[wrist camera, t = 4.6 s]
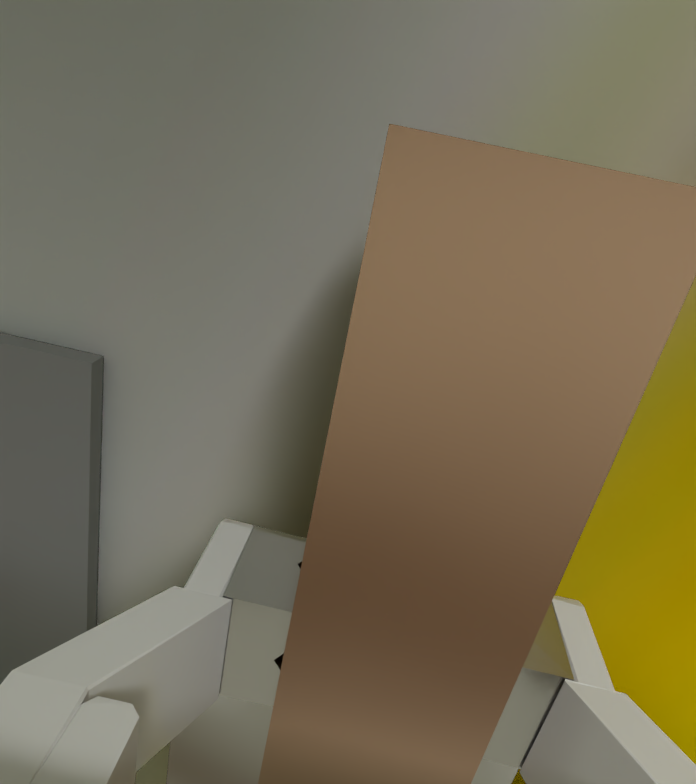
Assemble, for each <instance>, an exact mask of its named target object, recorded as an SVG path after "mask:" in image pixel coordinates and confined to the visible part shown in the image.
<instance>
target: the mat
mask: <svg viewBox="0 0 696 784" xmlns="http://www.w3.org/2000/svg"><path fill="white" fill-rule="evenodd" d="M102 391H103V356H101V355H96V354H92V353H88V352H83V351H79V350H74V349H70V348H66V347H61V346H57V345H52V344H48V343H44V342H39V341H35V340H30V339H26V338H22V337H17V336H13V335H9V334H4V333H0V685H1V683H2V682H3V681H4V680H5V678H6V677H7V676H8V675H9V673H10V672H11V671H12V670H14V669H16V668H17V667H19V666H21V665H23V664H25V663H27V662H29V661H31V660H33V659H35V658H37V657H38V656H40V655H42V654H44V653H46V652H48V651H50V650H52V649H54V648H56V647H58V646H60V645H61V644H63V643H65V642H67V641H69V640H71V639H73V638H75V637H77V636H79V635H81V634H83V633H84V632H86V631H88V630H90V629H92V628H94V627H96V611H97V575H98V538H99V501H100V464H101V428H102Z"/></svg>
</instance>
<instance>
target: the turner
mask: <svg viewBox="0 0 696 784" xmlns="http://www.w3.org/2000/svg"><path fill="white" fill-rule="evenodd" d="M695 276H696V187H693V186H688V185H683V184H678V183H673V182H669V181H664V180H659V179H654V178H649V177H644V176H640V175H635V174H630V173H625V172H620V171H615V170H611V169H606V168H601V167H596V166H591V165H586V164H582V163H577V162H572V161H567V160H562V159H557V158H553V157H548V156H543V155H538V154H533V153H528V152H524V151H519V150H514V149H509V148H504V147H500V146H495V145H490V144H485V143H480V142H475V141H471V140H466V139H461V138H456V137H451V136H446V135H442V134H437V133H432V132H427V131H422V130H417V129H413V128H408V127H403V126H398V125H393V124H389V128H388V133H387V138H386V143H385V148H384V153H383V158H382V163H381V168H380V173H379V178H378V183H377V188H376V193H375V198H374V203H373V208H372V213H371V218H370V223H369V228H368V233H367V238H366V243H365V248H364V253H363V258H362V263H361V268H360V273H359V278H358V284H357V289H356V294H355V299H354V304H353V309H352V314H351V319H350V324H349V329H348V334H347V339H346V344H345V349H344V354H343V359H342V364H341V369H340V374H339V379H338V384H337V389H336V394H335V399H334V404H333V409H332V414H331V419H330V424H329V429H328V434H327V439H326V444H325V449H324V454H323V459H322V464H321V469H320V474H319V479H318V484H317V489H316V495H315V500H314V505H313V510H312V515H311V520H310V525H309V530H308V535H307V540H306V545H305V550H304V555H303V560H302V565H301V570H300V575H299V580H298V585H297V590H296V595H295V600H294V605H293V610H292V615H291V620H290V625H289V630H288V635H287V640H286V645H285V650H284V655H283V660H282V665H281V670H280V675H279V680H278V685H277V690H276V695H275V701H274V706H273V707H272V706H267V705H263V704H258V703H253V702H249V701H244V700H239V699H235V698H230V697H225V696H221V695H219V696H218V700H216V701H215V702H214V703H213V704H212V705H211V706H210V707H209V708H207V709H206V710H205V711H204V712H203V713H202V714H201V715H200V716H198V717H197V718H196V719H195V720H194V721H193V722H192V723H191V724H190V725H188V726H187V727H186V728H185V729H184V730H183V731H182V732H181V733H179V734H178V735H177V736H176V737H175V738H174V739H173V740H172V741H170V749H169V760H168V770H167V781H166V784H511V783H512V781H513V779H514V777H515V775H516V773H517V771H518V768H514V767H511V766H507V765H503V764H500V763H496V762H493V761H489V760H485V759H482V758H483V755H484V753H485V751H486V749H487V746H488V744H489V742H490V739H491V737H492V735H493V733H494V730H495V728H496V726H497V724H498V721H499V719H500V717H501V715H502V712H503V710H504V708H505V706H506V703H507V701H508V699H509V697H510V694H511V692H512V690H513V687H514V685H515V683H516V681H517V678H518V676H519V674H520V672H521V669H522V667H523V665H524V663H525V660H526V658H527V656H528V654H529V651H530V649H531V647H532V645H533V642H534V640H535V638H536V635H537V633H538V631H539V629H540V626H541V624H542V622H543V620H544V617H545V615H546V613H547V611H548V608H549V606H550V604H551V602H552V599H553V597H554V595H555V593H556V590H557V588H558V586H559V583H560V581H561V579H562V577H563V574H564V572H565V570H566V568H567V565H568V563H569V561H570V559H571V556H572V554H573V552H574V550H575V547H576V545H577V543H578V541H579V538H580V536H581V534H582V531H583V529H584V527H585V525H586V522H587V520H588V518H589V516H590V513H591V511H592V509H593V507H594V504H595V502H596V500H597V498H598V495H599V493H600V491H601V489H602V486H603V484H604V482H605V479H606V477H607V475H608V473H609V470H610V468H611V466H612V464H613V461H614V459H615V457H616V455H617V452H618V450H619V448H620V446H621V443H622V441H623V439H624V437H625V434H626V432H627V430H628V427H629V425H630V423H631V421H632V418H633V416H634V414H635V412H636V409H637V407H638V405H639V403H640V400H641V398H642V396H643V394H644V391H645V389H646V387H647V385H648V382H649V380H650V378H651V375H652V373H653V371H654V369H655V366H656V364H657V362H658V360H659V357H660V355H661V353H662V351H663V348H664V346H665V344H666V342H667V339H668V337H669V335H670V333H671V330H672V328H673V326H674V323H675V321H676V319H677V317H678V314H679V312H680V310H681V308H682V305H683V303H684V301H685V299H686V296H687V294H688V292H689V290H690V287H691V285H692V283H693V281H694V278H695Z"/></svg>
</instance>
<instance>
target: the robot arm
mask: <svg viewBox="0 0 696 784" xmlns="http://www.w3.org/2000/svg"><path fill="white" fill-rule="evenodd" d="M306 540H307V538H303V537H299V536H295V535H291V534H287V533H284V532H280V531H276V530H272V529H268V528H264V527H260V526H254V525H251V524H247V523H243V522H239V521H235V520H231V519H227V518H225V519H223V520H222V521H221V522H220V523H219V524H218V526H217V528H216V530H215V532H214V534H213V535H212V537H211V539H210V541H209V543H208V544H207V546H206V548H205V550H204V552H203V553H202V555H201V557H200V559H199V561H198V562H197V564H196V566H195V568H194V570H193V572H192V573H191V575H190V577H189V579H188V581H187V582H186V584H185V586H184V588H182V587H177V586H172V587H171V588H169V589H167V590H165V591H163V592H161V593H159V594H157V595H155V596H153V597H151V598H150V599H148V600H146V601H144V602H142V603H140V604H138V605H136V606H134V607H132V608H130V609H128V610H127V611H125V612H123V613H121V614H119V615H117V616H115V617H113V618H111V619H109V620H107V621H105V622H104V623H102V624H100V625H98V626H96V627H94V628H92V629H90V630H88V631H86V632H84V633H83V634H81V635H79V636H77V637H75V638H73V639H71V640H69V641H67V642H65V643H63V644H61V645H60V646H58V647H56V648H54V649H52V650H50V651H48V652H46V653H44V654H42V655H40V656H38V657H37V658H35V659H33V660H31V661H29V662H27V663H25V664H23V665H21V666H19V667H17V668H16V669H14V670H12V671H11V672H10V673H9V675H8V676H7V677H6V678H5V680H4V681H3V682H2V683H1V685H0V784H135V778H136V772H137V771H138V770H139V769H140V768H141V767H142V766H144V765H145V764H146V763H147V762H148V761H149V760H150V759H151V758H153V757H154V756H155V755H156V754H157V753H158V752H159V751H160V750H162V749H163V748H164V747H165V746H166V745H167V744H168V743H169V742H170V741H172V740H173V739H174V738H175V737H176V736H177V735H178V734H179V733H181V732H182V731H183V730H184V729H185V728H186V727H187V726H188V725H190V724H191V723H192V722H193V721H194V720H195V719H196V718H197V717H198V716H200V715H201V714H202V713H203V712H204V711H205V710H206V709H207V708H209V707H210V706H211V705H212V704H213V703H214V702H215V701H216V700H218V696H219V695H221V696H225V697H230V698H235V699H239V700H244V701H249V702H253V703H258V704H263V705H267V706H272V707H273V706H274V701H275V695H276V690H277V685H278V680H279V675H280V670H281V665H282V660H283V655H284V650H285V645H286V640H287V635H288V630H289V625H290V620H291V615H292V610H293V605H294V600H295V595H296V590H297V585H298V580H299V575H300V570H301V565H302V560H303V555H304V550H305V545H306ZM482 759H485V760H489V761H493V762H496V763H500V764H503V765H507V766H511V767H514V768H518V769H521V770H520V774H521V776H522V777H523V779H524V781H525V782H526V784H696V765H695V764H694V763H693V762H692V761H691V760H690V759H689V758H688V757H687V756H686V755H685V754H684V753H683V752H682V751H681V750H680V749H679V748H678V746H677V745H676V744H675V743H674V742H673V741H672V740H671V739H670V738H669V737H668V736H667V735H666V734H665V733H664V732H663V731H662V730H661V729H660V728H659V727H658V726H657V725H656V724H655V723H654V722H653V721H652V720H651V719H650V718H649V717H648V716H647V715H646V714H645V713H644V712H643V711H642V710H641V709H640V708H639V707H638V706H637V705H636V704H635V703H634V702H633V701H632V700H631V699H630V698H629V697H628V696H627V695H626V694H624V693H620V692H616V691H615V689H614V687H613V684H612V681H611V679H610V676H609V673H608V670H607V668H606V665H605V662H604V660H603V657H602V654H601V652H600V649H599V646H598V643H597V641H596V638H595V635H594V633H593V630H592V627H591V625H590V622H589V619H588V616H587V614H586V611H585V608H584V606H583V605H582V604H581V603H580V602H579V601H578V600H573V599H569V598H564V597H559V596H554V597H553V599H552V602H551V604H550V606H549V608H548V611H547V613H546V615H545V617H544V620H543V622H542V624H541V626H540V629H539V631H538V633H537V635H536V638H535V640H534V642H533V645H532V647H531V649H530V651H529V654H528V656H527V658H526V660H525V663H524V665H523V667H522V669H521V672H520V674H519V676H518V678H517V681H516V683H515V685H514V687H513V690H512V692H511V694H510V697H509V699H508V701H507V703H506V706H505V708H504V710H503V712H502V715H501V717H500V719H499V721H498V724H497V726H496V728H495V730H494V733H493V735H492V737H491V739H490V742H489V744H488V746H487V749H486V751H485V753H484V755H483V758H482Z"/></svg>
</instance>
